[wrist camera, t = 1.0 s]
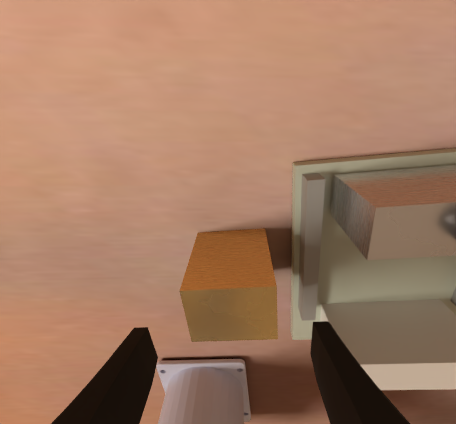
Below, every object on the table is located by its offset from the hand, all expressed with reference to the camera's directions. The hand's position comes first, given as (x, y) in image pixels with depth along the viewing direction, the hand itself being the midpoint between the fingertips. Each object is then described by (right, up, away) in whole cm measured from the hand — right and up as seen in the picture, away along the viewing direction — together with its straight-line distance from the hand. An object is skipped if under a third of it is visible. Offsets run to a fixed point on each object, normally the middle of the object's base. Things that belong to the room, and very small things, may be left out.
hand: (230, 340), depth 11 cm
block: (0, +3, +6) cm, 7 cm away
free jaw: (+10, +7, +3) cm, 12 cm away
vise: (+10, +3, +6) cm, 12 cm away
